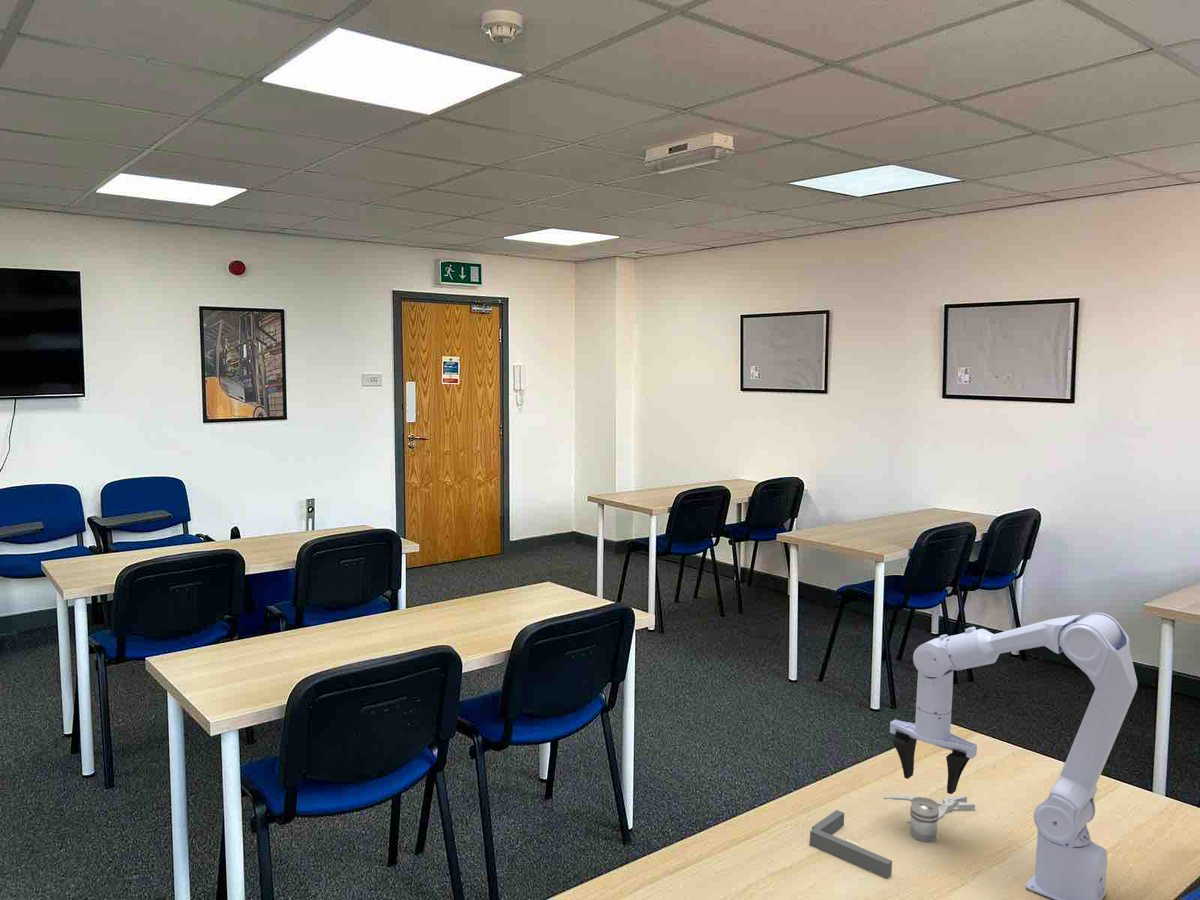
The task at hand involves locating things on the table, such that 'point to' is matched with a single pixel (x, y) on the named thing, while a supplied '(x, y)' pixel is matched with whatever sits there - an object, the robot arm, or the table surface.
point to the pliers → (942, 804)
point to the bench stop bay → (847, 846)
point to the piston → (924, 819)
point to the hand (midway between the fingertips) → (929, 784)
